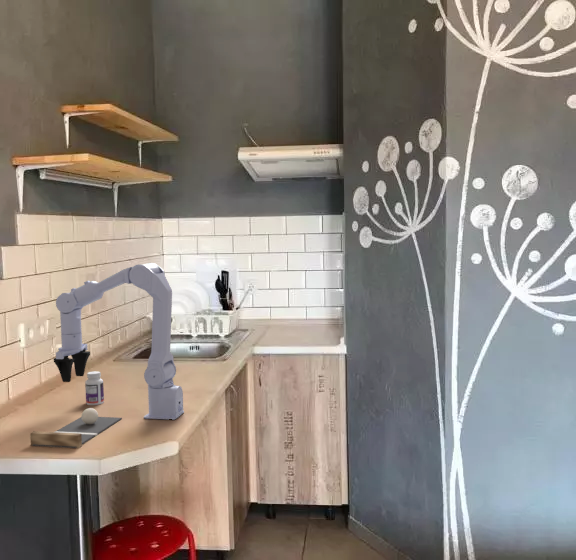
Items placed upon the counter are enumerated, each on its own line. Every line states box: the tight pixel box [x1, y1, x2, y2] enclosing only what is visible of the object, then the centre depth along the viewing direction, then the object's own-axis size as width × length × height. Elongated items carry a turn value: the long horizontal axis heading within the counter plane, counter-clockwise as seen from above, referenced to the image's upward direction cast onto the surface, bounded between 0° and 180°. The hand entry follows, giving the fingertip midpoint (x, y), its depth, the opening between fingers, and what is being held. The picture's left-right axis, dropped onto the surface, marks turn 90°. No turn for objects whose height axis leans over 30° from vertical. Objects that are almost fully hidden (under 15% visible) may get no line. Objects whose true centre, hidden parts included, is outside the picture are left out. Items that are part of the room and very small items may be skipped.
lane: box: [33, 416, 123, 449], centre depth 172 cm, size 12×25×1 cm, turn 169°
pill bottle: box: [84, 370, 105, 406], centre depth 200 cm, size 5×5×10 cm
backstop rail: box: [29, 430, 83, 449], centre depth 160 cm, size 13×2×3 cm, turn 79°
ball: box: [80, 407, 99, 424], centre depth 177 cm, size 4×4×4 cm
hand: (73, 378), depth 190 cm, fingers open, 7 cm apart
